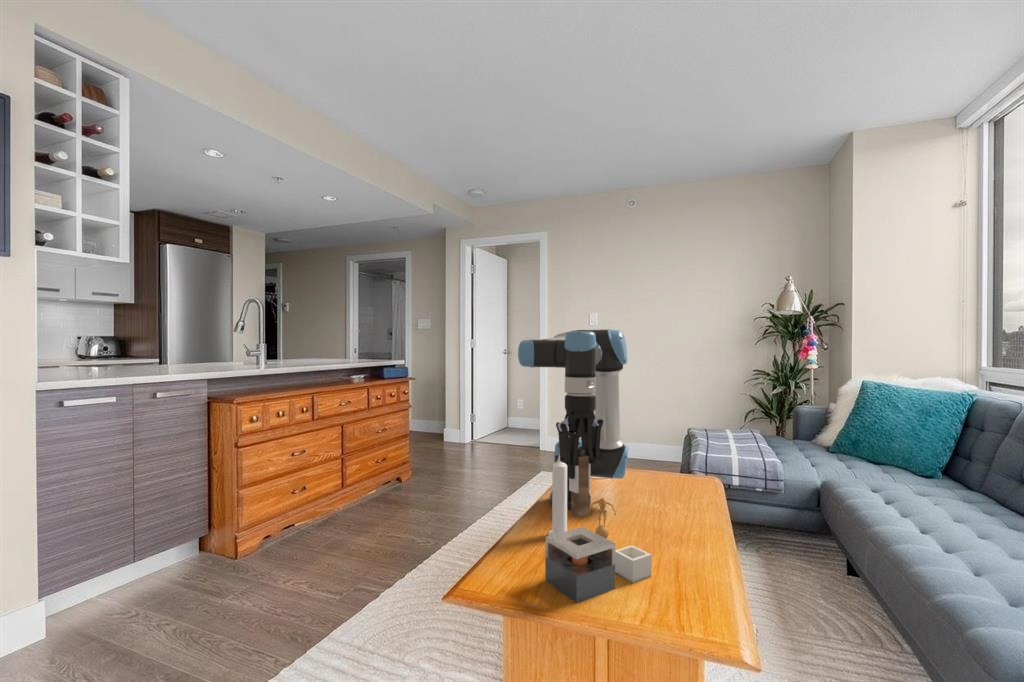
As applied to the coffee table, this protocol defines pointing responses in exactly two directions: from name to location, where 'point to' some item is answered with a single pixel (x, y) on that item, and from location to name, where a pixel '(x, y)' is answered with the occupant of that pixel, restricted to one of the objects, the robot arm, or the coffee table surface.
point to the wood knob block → (581, 487)
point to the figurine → (602, 529)
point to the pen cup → (632, 563)
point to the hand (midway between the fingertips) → (579, 490)
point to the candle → (559, 497)
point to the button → (580, 561)
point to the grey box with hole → (584, 578)
